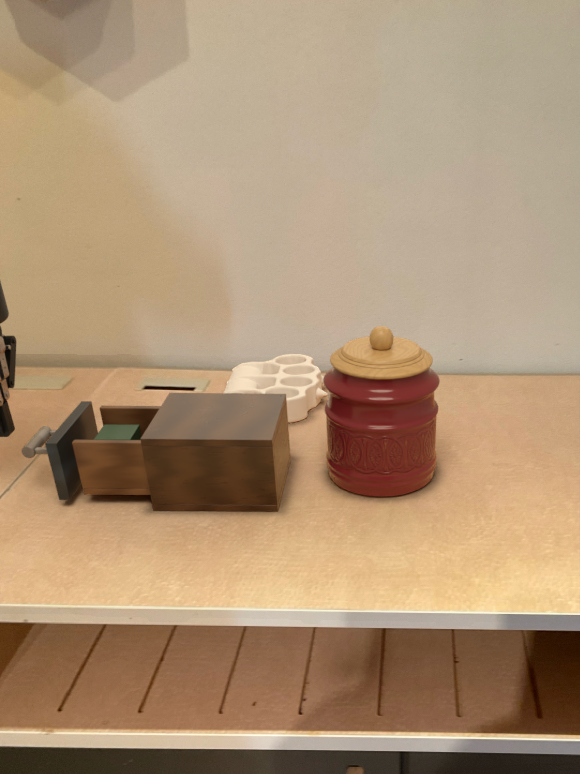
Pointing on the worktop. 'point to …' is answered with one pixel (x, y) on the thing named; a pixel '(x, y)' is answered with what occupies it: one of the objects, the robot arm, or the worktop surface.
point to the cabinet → (217, 452)
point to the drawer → (95, 452)
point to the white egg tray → (281, 382)
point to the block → (119, 432)
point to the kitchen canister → (381, 415)
